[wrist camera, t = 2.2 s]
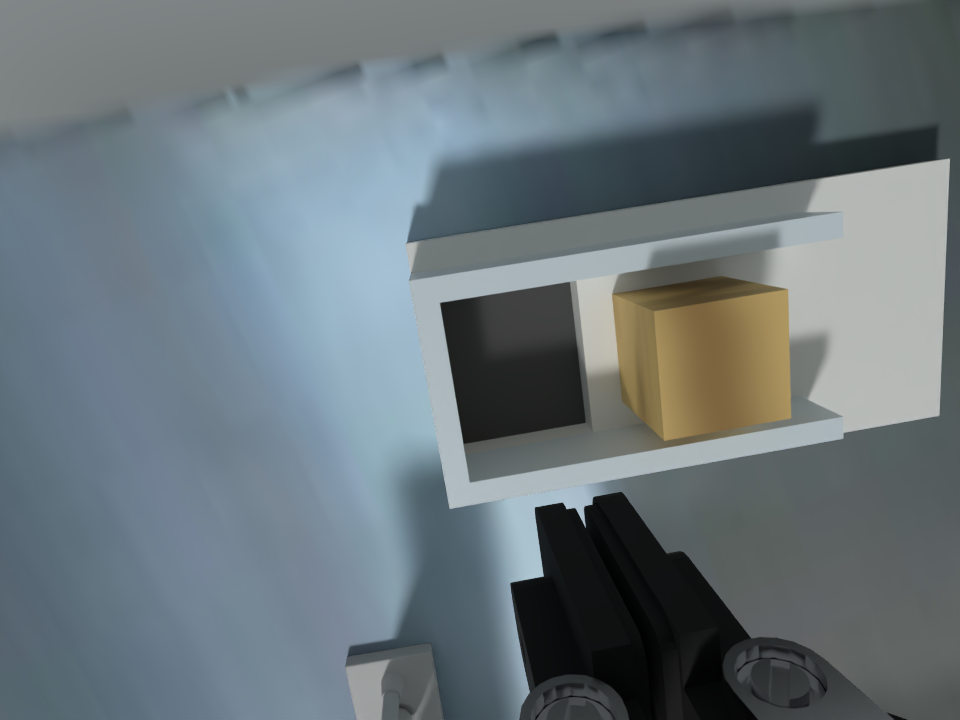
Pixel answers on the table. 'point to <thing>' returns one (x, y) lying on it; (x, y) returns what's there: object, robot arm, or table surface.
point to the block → (704, 355)
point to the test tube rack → (395, 684)
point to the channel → (663, 261)
